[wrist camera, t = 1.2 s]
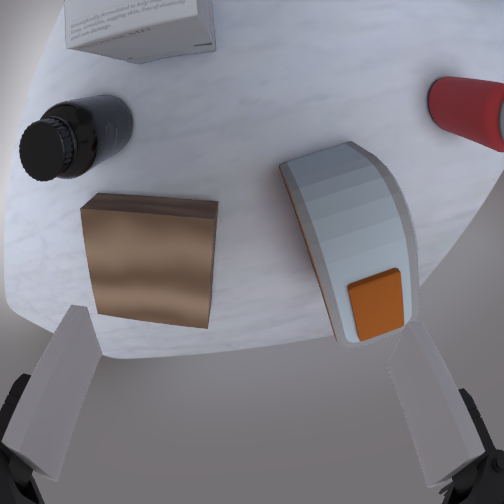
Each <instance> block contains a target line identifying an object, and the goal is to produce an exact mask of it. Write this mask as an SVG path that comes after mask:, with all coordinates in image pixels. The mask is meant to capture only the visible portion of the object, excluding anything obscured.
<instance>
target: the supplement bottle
mask: <svg viewBox="0 0 504 504" xmlns="http://www.w3.org/2000/svg"><path fill="white" fill-rule="evenodd" d="M131 130H132V119H131V115H130V112H129V110H128V108H127V106H126V105H125V104H124V103H123V102H122V101H121V100H120V99H118V98H116V97H114V96H110V95H98V96H92V97H86V98H80V99H75V100H70V101H65V102H61V103H58V104H56V105H54V106H52V107H51V108H49V109H48V110H47V111H46V112H45V113H44V114H43V116H42V117H41V119H40V120H39V121H36V122H34V123H32V124H31V125H30V126H28V127H27V129H26V130H25V131H24V134H23V135H22V138H21V140H20V145H19V148H20V149H19V153H20V159H21V163H22V165H23V168H24V169H25V171H26V172H27V173H28V174H29V176H31V177H32V178H33V179H36V180H37V181H39V180H40V181H49V180H53V179H54V178H56V177H57V178H61V179H72V178H76V177H78V176H81V175H82V174H84V173H86V172H87V171H89V170H90V169H92V168H93V167H95V166H97V165H98V164H100V163H101V162H103V161H105V160H106V159H108V158H109V157H111V156H113V155H114V154H116V153H117V152H119V151H120V150H121V149H122V148H123V147H124V146H125V145H126V143H127V141H128V140H129V137H130V134H131Z"/></svg>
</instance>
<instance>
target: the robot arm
mask: <svg viewBox="0 0 504 504" xmlns="http://www.w3.org/2000/svg"><path fill="white" fill-rule="evenodd" d="M101 355H102V351H101V348H100V346H99V343H98V340H97V337H96V334H95V331H94V328H93V325H92V322H91V318H90V315H89V312H88V309H87V307H84V306H77V305H71V306H70V308H69V310H68V311H67V313H66V314H65V316H64V318H63V319H62V321H61V323H60V325H59V326H58V328H57V330H56V331H55V333H54V335H53V337H52V338H51V340H50V342H49V344H48V345H47V347H46V349H45V351H44V353H43V355H42V356H41V359H40V360H39V362H38V364H37V366H36V368H35V370H34V372H33V374H32V375H27V374H22V375H21V376H20V377H19V378H18V379H17V380H16V381H15V382H14V384H13V386H12V388H11V390H10V392H9V395H8V396H7V398H6V400H5V404H3V406H2V408H1V410H0V504H45V503H44V501H43V499H42V496H41V494H40V492H39V489H38V487H37V485H36V482H35V480H34V478H33V476H32V472H33V470H34V471H35V472H37V473H38V474H39V475H41V476H43V477H45V478H48V479H50V480H53V481H56V482H58V479H59V475H60V471H61V468H62V464H63V461H64V458H65V455H66V451H67V448H68V445H69V442H70V439H71V436H72V433H73V429H74V427H75V424H76V420H77V418H78V415H79V412H80V409H81V406H82V404H83V401H84V398H85V396H86V393H87V390H88V388H89V385H90V382H91V380H92V377H93V374H94V372H95V370H96V367H97V364H98V362H99V359H100V357H101ZM386 366H387V369H388V371H389V374H390V377H391V379H392V382H393V384H394V387H395V390H396V393H397V395H398V398H399V401H400V403H401V407H402V409H403V412H404V415H405V418H406V421H407V424H408V427H409V430H410V433H411V436H412V438H413V442H414V445H415V448H416V451H417V455H418V457H419V460H420V464H421V468H422V471H423V474H424V478H425V481H426V485H427V488H431V487H434V486H436V485H439V484H442V483H444V482H445V481H447V480H448V479H450V478H451V477H452V480H453V481H452V482H451V483H450V484H448V485H447V486H445V487H444V488H442V489H441V491H440V492H439V494H442V493H443V492H445V491H447V490H448V491H447V492H446V493H445V494H444V496H445V498H444V500H443V503H442V504H504V451H502V450H496V448H495V447H494V445H493V443H492V440H491V438H490V436H489V433H488V431H487V429H486V427H485V424H484V422H483V420H482V418H481V417H480V416H481V415H480V413H479V411H478V410H477V409H476V408H477V407H476V405H475V403H474V401H473V399H472V397H471V396H470V395H469V394H468V393H467V391H465V389H459V390H458V389H457V387H456V384H455V383H454V380H453V378H452V377H451V374H450V373H449V371H448V369H447V367H446V365H445V363H444V361H443V359H442V357H441V355H440V353H439V352H438V350H437V348H436V346H435V344H434V342H433V341H432V339H431V337H430V335H429V333H428V332H427V330H426V328H425V326H424V325H423V323H422V322H407V325H406V327H405V329H404V331H403V333H402V335H401V337H400V339H399V341H398V343H397V345H396V347H395V349H394V351H393V353H392V354H391V356H390V359H389V360H388V362H387V364H386Z"/></svg>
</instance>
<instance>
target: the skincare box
mask: <svg viewBox="0 0 504 504" xmlns="http://www.w3.org/2000/svg"><path fill="white" fill-rule="evenodd" d="M64 7H65V38H66V48H67V49H73V50H79V51H84V52H89V53H94V54H98V55H102V56H107V57H111V58H115V59H119V60H123V61H127V62H131V63H134V64H142V63H146V62H149V61H153V60H157V59H161V58H166V57H171V56H177V55H183V54H191V53H199V52H213V51H216V45H215V33H214V23H213V11H212V2H211V0H64Z"/></svg>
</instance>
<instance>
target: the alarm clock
mask: <svg viewBox="0 0 504 504" xmlns="http://www.w3.org/2000/svg"><path fill="white" fill-rule="evenodd" d="M279 168H280V171H281V174H282V177H283V179H284V182H285V185H286V188H287V191H288V193H289V196H290V199H291V202H292V205H293V208H294V211H295V213H296V216H297V219H298V222H299V225H300V228H301V231H302V234H303V237H304V240H305V243H306V246H307V249H308V252H309V256H310V259H311V262H312V265H313V268H314V271H315V274H316V277H317V280H318V283H319V287H320V290H321V293H322V296H323V299H324V302H325V306H326V309H327V312H328V315H329V319H330V322H331V325H332V329H333V332H334V336H335V339H336V341H337V342H338V343H339V344H340V345H341V346H343V347H346V348H357V347H361V346H364V345H367V344H370V343H373V342H375V341H378V340H381V339H384V338H386V337H389V336H392V335H394V334H397V333H400V332H402V331H404V329H405V327H406V325H407V322H415V321H416V319H417V317H418V315H419V275H418V246H417V239H416V233H415V228H414V224H413V221H412V217H411V213H410V210H409V208H408V205H407V203H406V200H405V198H404V195H403V193H402V191H401V189H400V187H399V185H398V183H397V181H396V180H395V178H394V176H393V175H392V174H391V172H390V171H389V169H388V168H387V167H386V166H385V165H384V164H383V163H382V162H381V161H380V160H379V159H378V158H377V157H376V156H375V155H373V154H371V153H370V152H368V151H367V150H365V149H363V148H362V147H360V146H358V145H357V144H355V143H353V142H351V141H350V142H347V143H344V144H340V145H337V146H334V147H330V148H327V149H324V150H321V151H318V152H315V153H312V154H308V155H305V156H302V157H299V158H296V159H293V160H290V161H287V162H284V163H282V164H280V165H279Z"/></svg>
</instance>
